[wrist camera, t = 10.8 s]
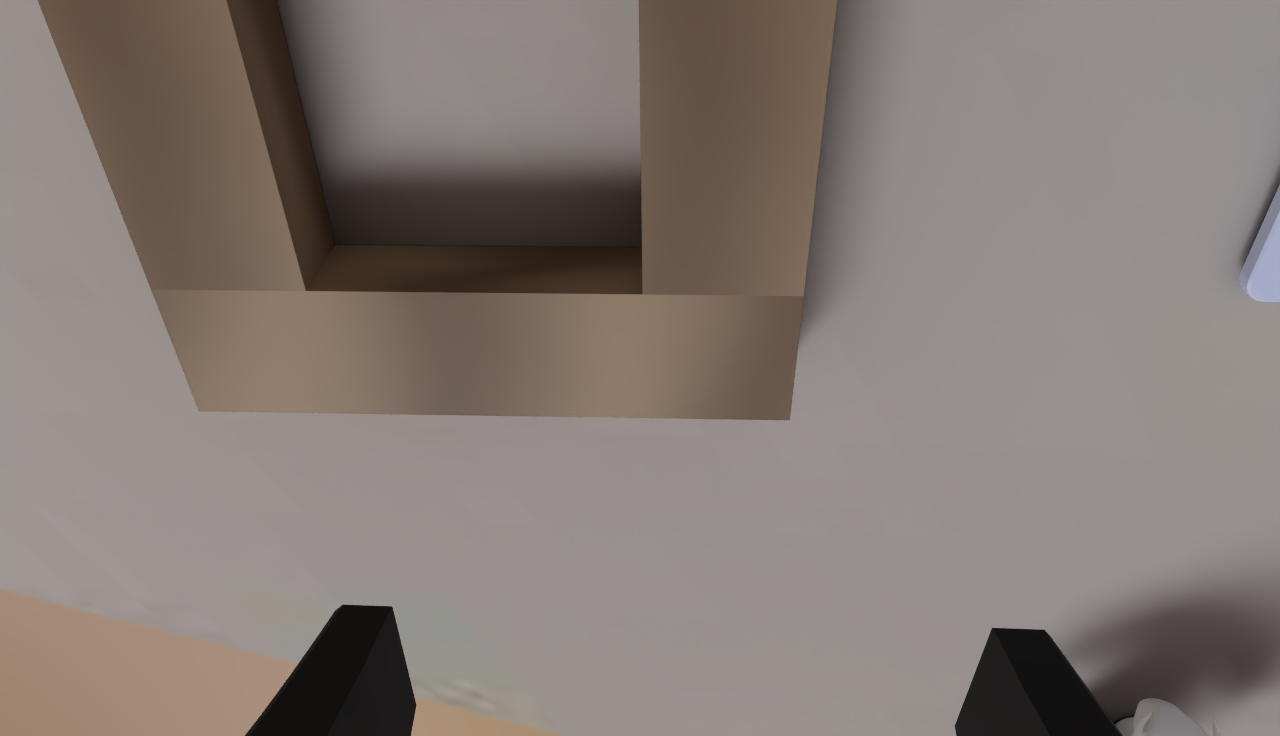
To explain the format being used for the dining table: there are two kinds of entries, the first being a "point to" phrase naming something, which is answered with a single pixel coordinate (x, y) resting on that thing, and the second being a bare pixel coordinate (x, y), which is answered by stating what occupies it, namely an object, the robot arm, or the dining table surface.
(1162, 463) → the dining table surface
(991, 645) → the robot arm
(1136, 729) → the elephant figurine
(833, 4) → the collar
